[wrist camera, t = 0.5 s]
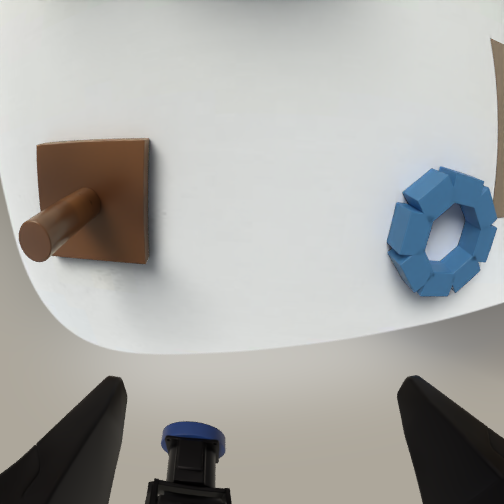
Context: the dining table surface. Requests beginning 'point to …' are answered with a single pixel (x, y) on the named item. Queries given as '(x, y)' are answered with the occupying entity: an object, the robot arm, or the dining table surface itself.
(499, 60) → the platform
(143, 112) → the dining table surface
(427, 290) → the blue ring
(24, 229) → the peg stand
